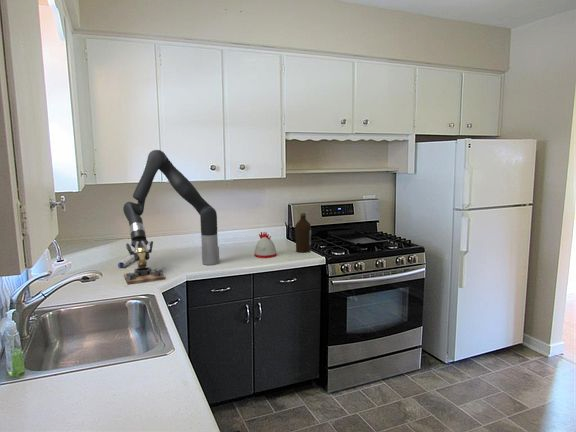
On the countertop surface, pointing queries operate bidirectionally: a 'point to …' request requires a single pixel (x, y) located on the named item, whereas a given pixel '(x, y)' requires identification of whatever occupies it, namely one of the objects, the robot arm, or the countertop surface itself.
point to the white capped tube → (126, 261)
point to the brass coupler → (141, 257)
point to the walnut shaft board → (144, 279)
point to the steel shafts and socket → (143, 273)
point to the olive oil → (303, 235)
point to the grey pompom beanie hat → (265, 247)
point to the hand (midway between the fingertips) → (142, 259)
